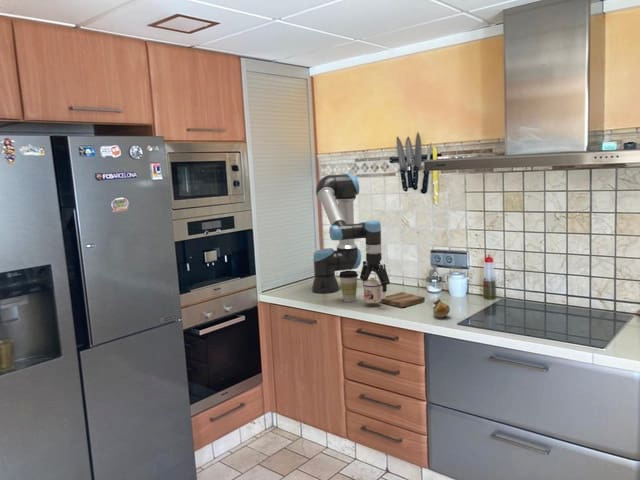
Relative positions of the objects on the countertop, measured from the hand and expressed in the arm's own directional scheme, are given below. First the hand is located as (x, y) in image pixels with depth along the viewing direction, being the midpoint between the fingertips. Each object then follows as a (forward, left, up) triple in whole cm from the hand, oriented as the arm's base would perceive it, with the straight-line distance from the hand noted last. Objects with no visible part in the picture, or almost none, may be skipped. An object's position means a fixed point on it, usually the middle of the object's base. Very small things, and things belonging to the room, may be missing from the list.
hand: (374, 295), depth 259 cm
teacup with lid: (0, 0, -3) cm, 3 cm away
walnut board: (+4, +14, -5) cm, 15 cm away
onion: (+35, +8, -6) cm, 37 cm away
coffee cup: (-18, -2, -5) cm, 19 cm away
